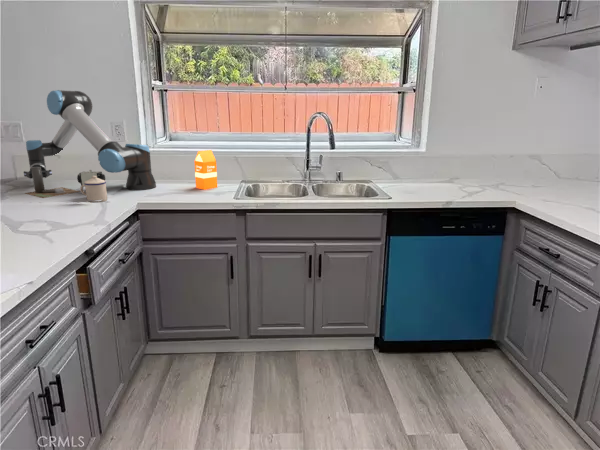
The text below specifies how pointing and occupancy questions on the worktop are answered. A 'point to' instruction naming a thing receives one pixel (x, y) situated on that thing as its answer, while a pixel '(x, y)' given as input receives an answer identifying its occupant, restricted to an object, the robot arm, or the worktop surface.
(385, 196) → the worktop surface
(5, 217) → the worktop surface
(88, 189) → the teacup with lid
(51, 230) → the worktop surface
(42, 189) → the peg lever
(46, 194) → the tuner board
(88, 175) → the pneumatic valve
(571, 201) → the worktop surface
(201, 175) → the orange juice
